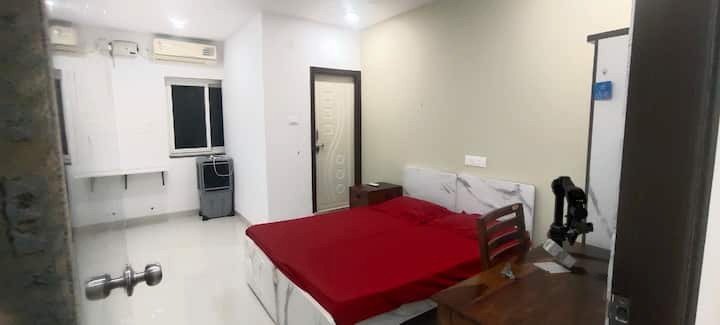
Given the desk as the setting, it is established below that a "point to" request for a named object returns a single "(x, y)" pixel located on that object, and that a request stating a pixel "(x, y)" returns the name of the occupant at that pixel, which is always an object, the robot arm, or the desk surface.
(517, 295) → the desk surface
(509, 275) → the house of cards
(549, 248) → the syrup box
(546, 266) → the mat
